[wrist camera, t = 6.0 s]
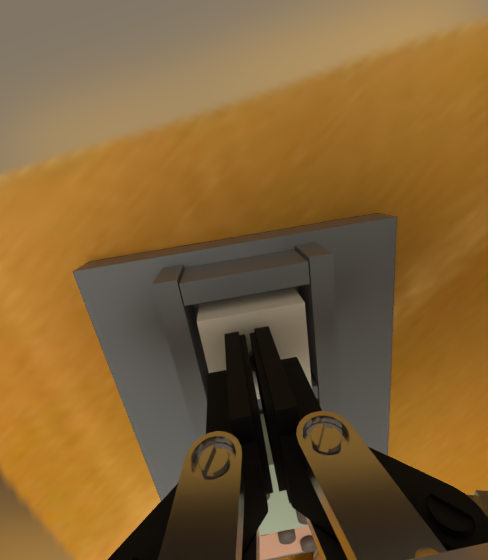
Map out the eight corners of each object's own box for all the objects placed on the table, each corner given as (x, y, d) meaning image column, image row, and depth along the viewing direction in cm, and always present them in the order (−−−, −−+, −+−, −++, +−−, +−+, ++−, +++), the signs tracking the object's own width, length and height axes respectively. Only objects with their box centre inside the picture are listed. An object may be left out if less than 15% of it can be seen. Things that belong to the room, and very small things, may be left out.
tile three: (306, 455, 16) (323, 506, 14) (311, 500, 18) (327, 554, 15) (239, 468, 16) (243, 522, 14) (249, 512, 17) (254, 569, 15)
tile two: (309, 405, 13) (332, 460, 10) (315, 466, 14) (336, 528, 12) (223, 421, 13) (224, 482, 10) (237, 481, 14) (241, 548, 11)
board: (378, 213, 13) (429, 223, 10) (374, 480, 20) (404, 538, 17) (88, 262, 13) (44, 289, 10) (180, 518, 20) (173, 586, 16)
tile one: (288, 280, 12) (307, 305, 10) (296, 355, 14) (314, 394, 11) (200, 295, 12) (195, 325, 10) (216, 369, 14) (216, 412, 11)
